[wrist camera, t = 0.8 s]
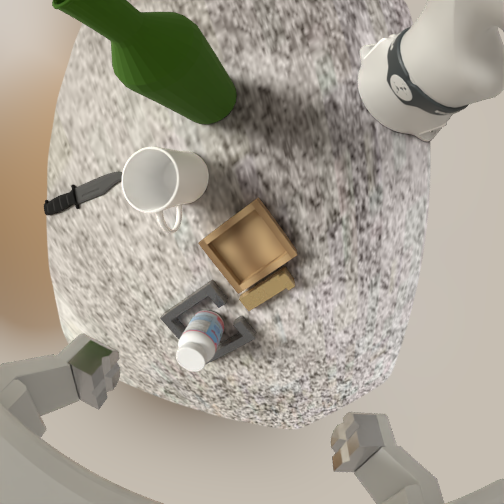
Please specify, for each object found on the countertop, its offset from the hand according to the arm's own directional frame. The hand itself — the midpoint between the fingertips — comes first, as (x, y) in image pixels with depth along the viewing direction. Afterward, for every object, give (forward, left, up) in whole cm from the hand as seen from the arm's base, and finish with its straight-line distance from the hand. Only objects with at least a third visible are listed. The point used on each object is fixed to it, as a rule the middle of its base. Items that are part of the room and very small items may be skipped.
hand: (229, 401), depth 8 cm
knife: (+25, -26, -36) cm, 51 cm away
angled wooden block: (+7, +8, -35) cm, 37 cm away
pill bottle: (+20, +8, -35) cm, 41 cm away
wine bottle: (-4, -22, -35) cm, 42 cm away
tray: (+5, +1, -35) cm, 35 cm away
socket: (+20, +8, -35) cm, 41 cm away
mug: (+8, -13, -35) cm, 38 cm away
